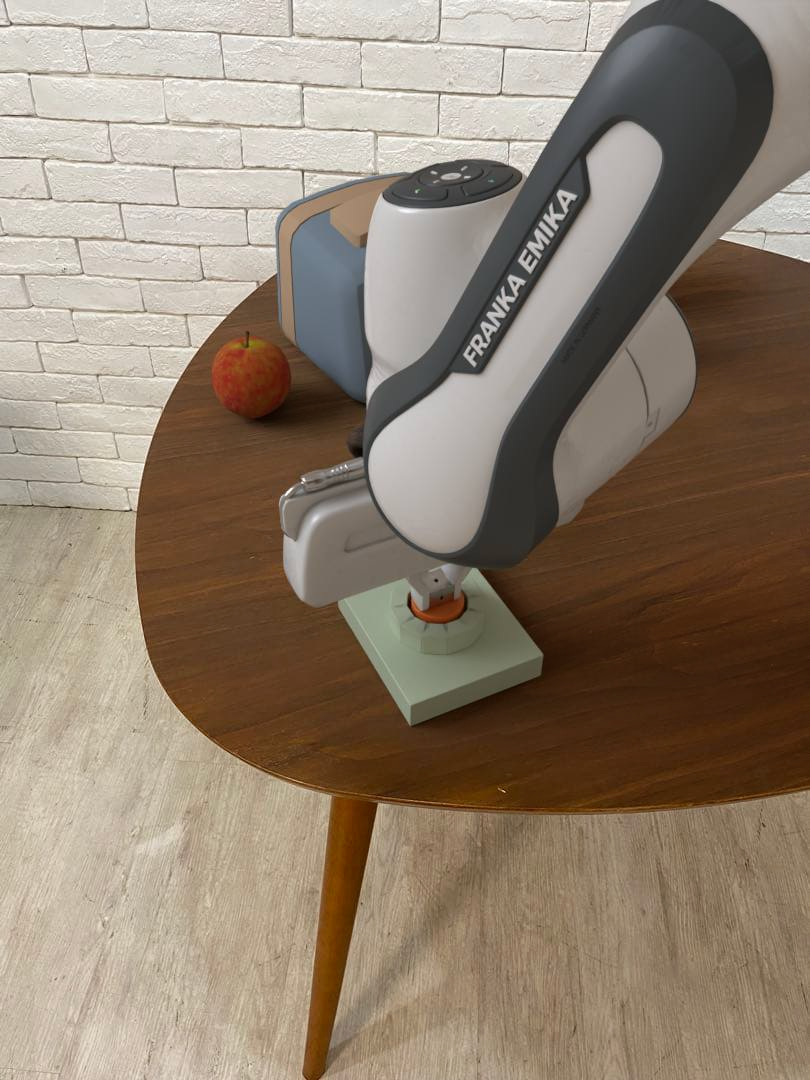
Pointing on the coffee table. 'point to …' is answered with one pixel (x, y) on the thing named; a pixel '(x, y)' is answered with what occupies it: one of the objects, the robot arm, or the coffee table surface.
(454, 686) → the button block
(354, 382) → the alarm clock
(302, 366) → the coffee table surface
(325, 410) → the coffee table surface
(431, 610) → the button
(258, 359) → the fruit
